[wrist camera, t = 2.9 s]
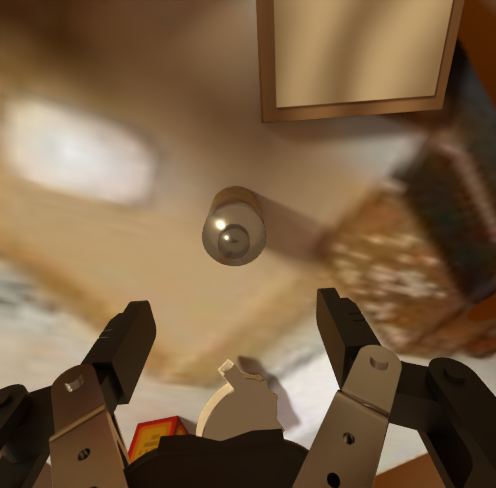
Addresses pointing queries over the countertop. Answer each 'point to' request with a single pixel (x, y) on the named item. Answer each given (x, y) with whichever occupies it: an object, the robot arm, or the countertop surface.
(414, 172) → the countertop surface
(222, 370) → the grey-brown rounded piece
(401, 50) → the tray
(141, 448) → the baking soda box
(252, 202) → the weight
